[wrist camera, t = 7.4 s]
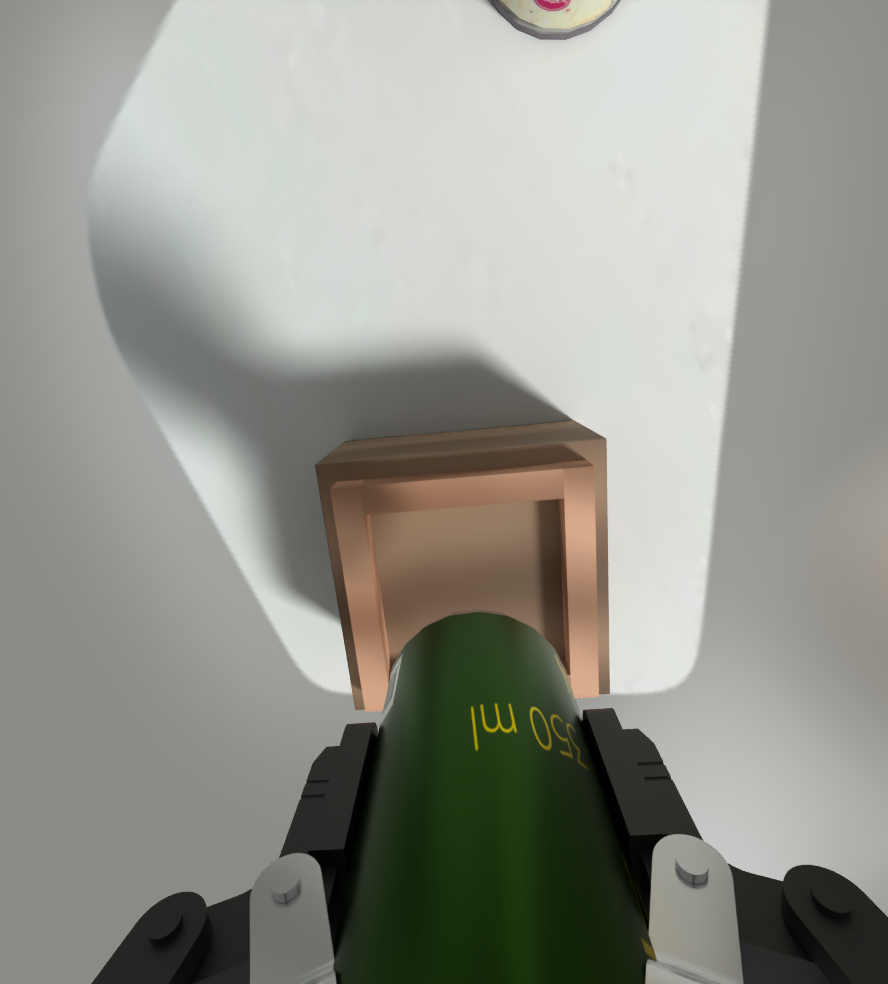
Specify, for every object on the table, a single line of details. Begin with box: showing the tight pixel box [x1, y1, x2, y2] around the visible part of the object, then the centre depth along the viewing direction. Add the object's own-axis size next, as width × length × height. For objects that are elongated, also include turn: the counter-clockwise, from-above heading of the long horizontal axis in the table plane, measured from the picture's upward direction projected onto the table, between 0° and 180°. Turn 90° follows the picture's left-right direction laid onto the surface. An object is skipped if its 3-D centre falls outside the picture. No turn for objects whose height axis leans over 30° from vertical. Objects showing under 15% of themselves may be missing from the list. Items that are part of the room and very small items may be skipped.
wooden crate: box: [315, 420, 610, 712], centre depth 25 cm, size 12×12×7 cm
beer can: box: [333, 609, 657, 984], centre depth 10 cm, size 5×5×12 cm
